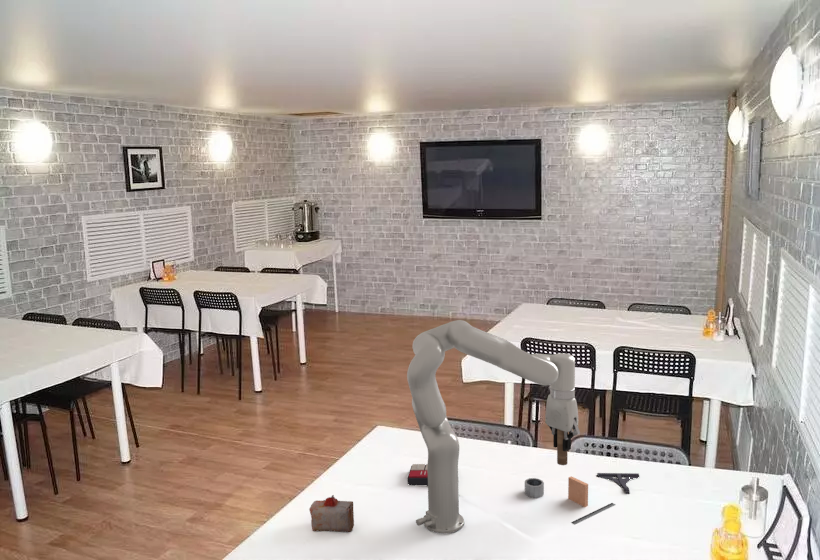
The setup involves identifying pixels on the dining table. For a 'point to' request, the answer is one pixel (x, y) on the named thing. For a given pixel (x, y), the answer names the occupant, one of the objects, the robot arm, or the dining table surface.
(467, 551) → the dining table surface
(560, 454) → the rod
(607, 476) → the bracket
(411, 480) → the calculator
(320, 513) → the food item
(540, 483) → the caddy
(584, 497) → the tile
